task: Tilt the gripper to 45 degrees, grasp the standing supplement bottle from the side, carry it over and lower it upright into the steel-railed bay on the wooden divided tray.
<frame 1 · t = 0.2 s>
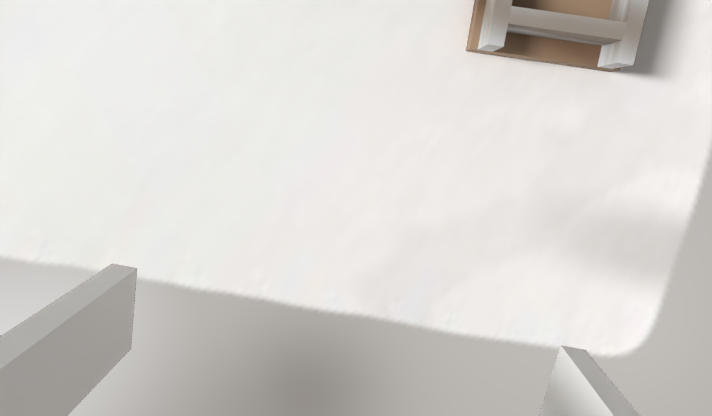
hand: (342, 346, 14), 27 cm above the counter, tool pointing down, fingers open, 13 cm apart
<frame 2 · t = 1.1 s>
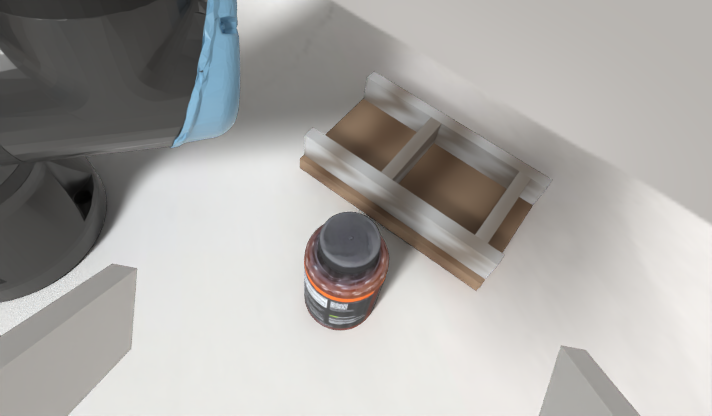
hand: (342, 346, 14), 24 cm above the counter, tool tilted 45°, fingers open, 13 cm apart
wooden divided tray: (418, 184, 47), on the counter
supplement bottle: (339, 298, 40), on the counter
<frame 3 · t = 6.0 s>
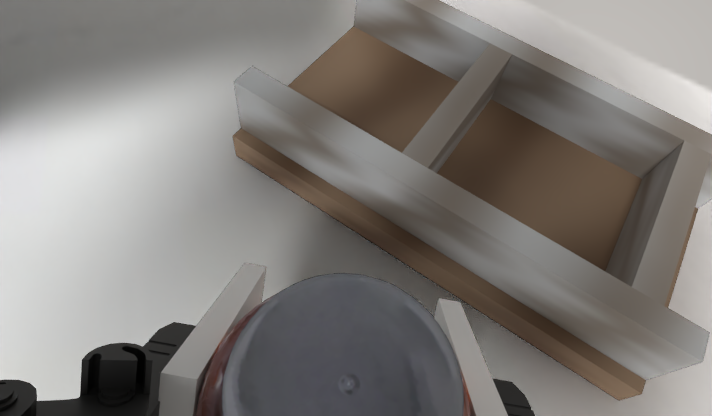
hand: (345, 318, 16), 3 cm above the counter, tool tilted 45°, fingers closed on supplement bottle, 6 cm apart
wooden divided tray: (467, 178, 24), on the counter
when the fingers open (6 cm above the counter, at t = 11.5 s): supplement bottle drops 1 cm, resting on wooden divided tray.
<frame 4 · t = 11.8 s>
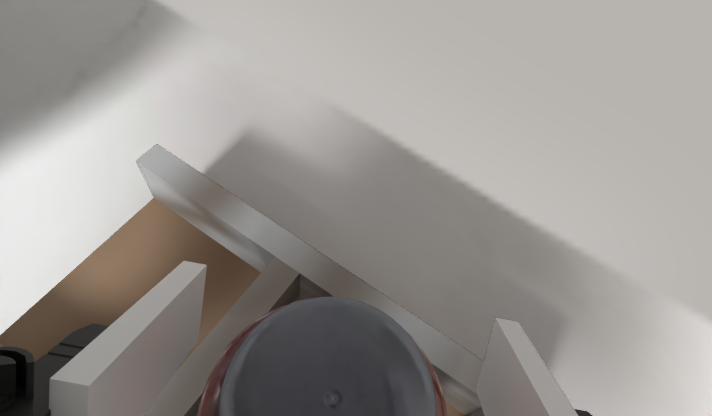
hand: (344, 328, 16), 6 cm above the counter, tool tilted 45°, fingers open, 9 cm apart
wooden divided tray: (262, 404, 20), on the counter
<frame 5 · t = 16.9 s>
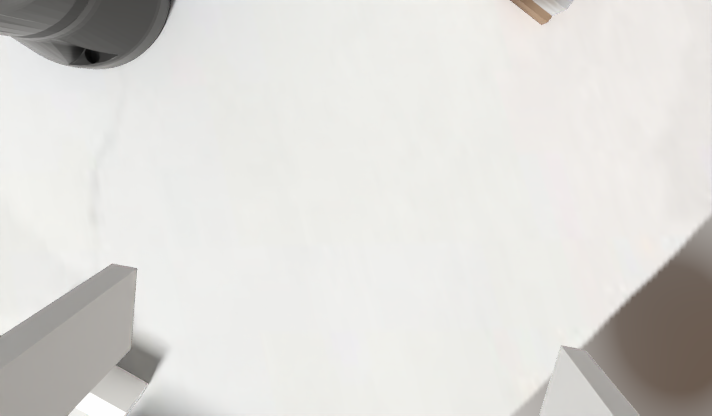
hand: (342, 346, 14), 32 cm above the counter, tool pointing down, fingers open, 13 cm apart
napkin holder: (103, 363, 52), on the counter
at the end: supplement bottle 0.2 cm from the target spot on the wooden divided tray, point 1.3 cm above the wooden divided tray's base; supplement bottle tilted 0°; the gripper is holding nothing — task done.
